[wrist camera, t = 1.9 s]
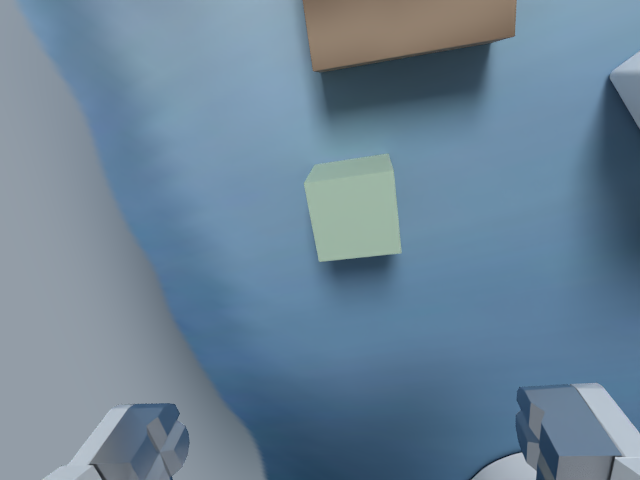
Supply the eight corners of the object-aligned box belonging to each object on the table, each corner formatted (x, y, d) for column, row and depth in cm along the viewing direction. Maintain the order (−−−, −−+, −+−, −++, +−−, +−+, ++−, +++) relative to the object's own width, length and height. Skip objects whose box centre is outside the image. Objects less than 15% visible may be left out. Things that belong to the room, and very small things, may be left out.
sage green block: (394, 222, 26) (401, 253, 21) (326, 230, 27) (319, 261, 22) (388, 153, 24) (393, 170, 20) (314, 164, 25) (303, 183, 20)
